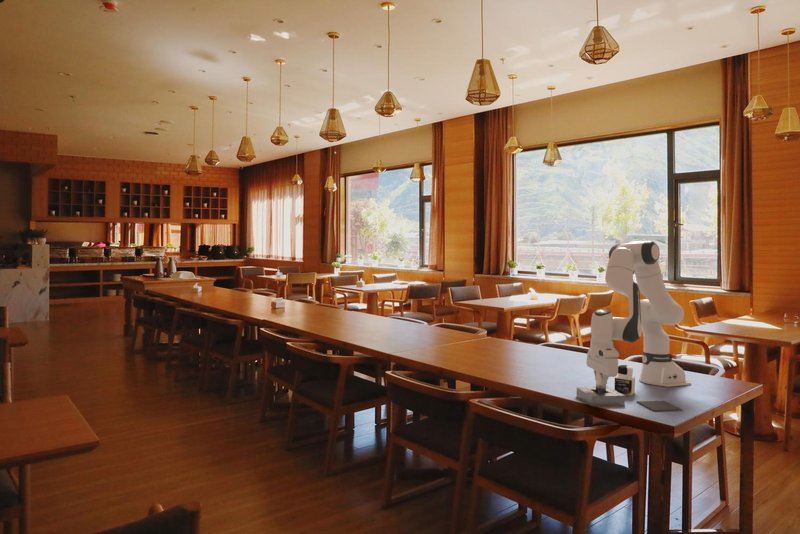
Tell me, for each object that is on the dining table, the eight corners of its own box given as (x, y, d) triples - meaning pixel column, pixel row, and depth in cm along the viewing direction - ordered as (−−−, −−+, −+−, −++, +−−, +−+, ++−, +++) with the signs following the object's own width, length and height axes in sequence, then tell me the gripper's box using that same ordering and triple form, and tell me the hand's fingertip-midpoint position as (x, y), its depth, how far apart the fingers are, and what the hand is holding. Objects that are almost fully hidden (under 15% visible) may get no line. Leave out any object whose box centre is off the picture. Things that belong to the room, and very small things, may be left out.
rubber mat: (664, 401, 230) (664, 400, 230) (682, 410, 218) (682, 409, 218) (636, 402, 228) (636, 401, 228) (653, 411, 216) (653, 409, 216)
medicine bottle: (614, 393, 242) (614, 366, 242) (617, 389, 248) (618, 363, 248) (631, 396, 238) (632, 368, 238) (634, 392, 244) (635, 365, 244)
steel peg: (593, 393, 232) (594, 369, 232) (603, 393, 233) (603, 369, 232) (598, 396, 228) (599, 372, 228) (607, 395, 229) (608, 371, 228)
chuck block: (607, 395, 238) (607, 386, 238) (624, 405, 224) (624, 395, 224) (576, 396, 236) (576, 387, 236) (591, 406, 223) (592, 396, 222)
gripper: (582, 344, 239) (582, 376, 240) (606, 354, 219) (605, 389, 220) (596, 344, 240) (596, 376, 241) (621, 354, 220) (620, 388, 220)
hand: (600, 382), depth 230 cm, fingers closed on steel peg, 4 cm apart
